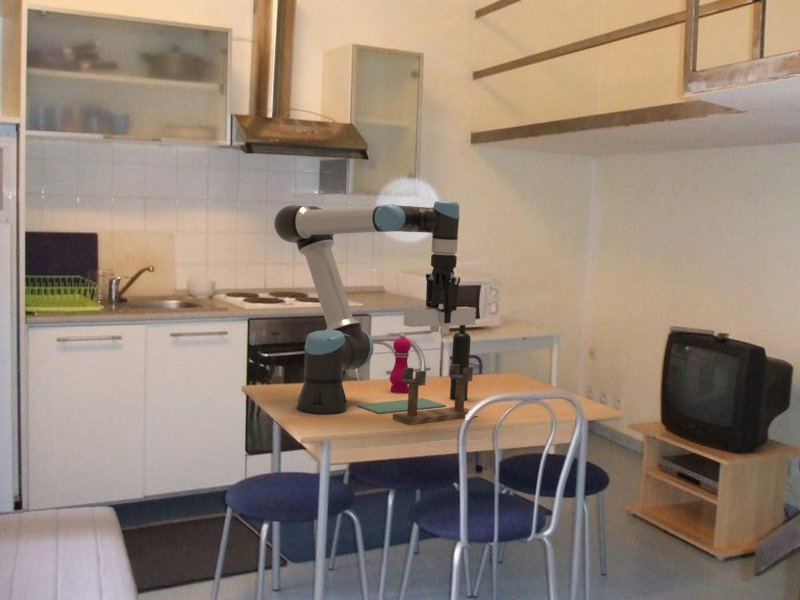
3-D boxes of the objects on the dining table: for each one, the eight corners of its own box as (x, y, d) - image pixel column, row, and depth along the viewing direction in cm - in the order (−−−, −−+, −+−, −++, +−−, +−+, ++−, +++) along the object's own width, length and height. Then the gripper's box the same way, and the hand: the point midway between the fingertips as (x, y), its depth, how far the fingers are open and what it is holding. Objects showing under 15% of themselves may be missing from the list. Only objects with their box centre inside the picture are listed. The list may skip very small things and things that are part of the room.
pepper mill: (401, 394, 295) (404, 335, 293) (384, 391, 299) (387, 332, 297) (414, 391, 301) (417, 333, 299) (397, 388, 305) (400, 331, 303)
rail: (411, 326, 251) (412, 309, 251) (403, 325, 254) (404, 307, 254) (475, 324, 265) (476, 308, 265) (466, 322, 268) (467, 306, 268)
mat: (378, 414, 263) (379, 412, 263) (356, 406, 273) (356, 404, 273) (445, 406, 279) (446, 405, 278) (422, 399, 288) (422, 398, 288)
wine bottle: (455, 396, 296) (460, 308, 293) (470, 399, 293) (475, 309, 290) (446, 398, 291) (451, 308, 289) (461, 401, 288) (466, 310, 285)
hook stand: (409, 424, 251) (411, 373, 250) (392, 419, 257) (395, 368, 256) (477, 416, 267) (480, 367, 265) (460, 411, 273) (462, 363, 272)
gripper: (472, 256, 253) (468, 336, 255) (435, 252, 267) (431, 328, 269) (452, 255, 249) (448, 337, 251) (416, 252, 262) (412, 329, 265)
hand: (439, 332), depth 260 cm, fingers closed on rail, 4 cm apart
